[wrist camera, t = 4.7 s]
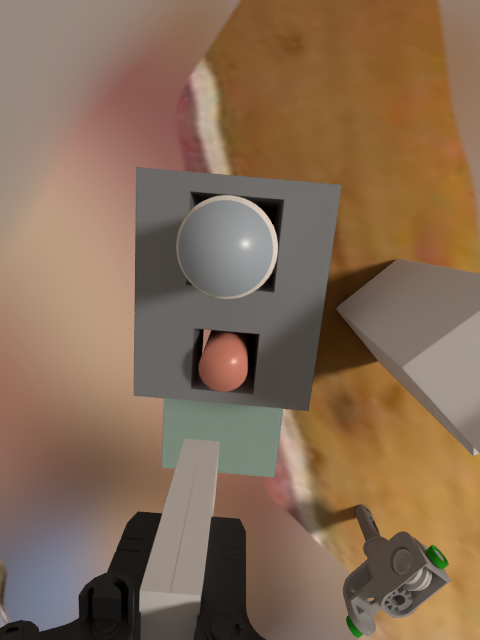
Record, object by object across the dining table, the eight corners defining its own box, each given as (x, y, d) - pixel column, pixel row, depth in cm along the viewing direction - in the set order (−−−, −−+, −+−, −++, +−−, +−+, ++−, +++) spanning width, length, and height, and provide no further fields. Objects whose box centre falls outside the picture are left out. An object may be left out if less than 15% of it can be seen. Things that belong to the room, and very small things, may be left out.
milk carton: (334, 307, 33) (441, 403, 15) (397, 257, 32) (601, 293, 13) (378, 361, 34) (529, 512, 16) (441, 315, 33) (683, 421, 15)
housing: (156, 363, 35) (133, 395, 28) (161, 181, 31) (136, 167, 24) (296, 376, 35) (308, 411, 28) (320, 195, 31) (341, 184, 24)
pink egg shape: (208, 355, 34) (197, 389, 26) (210, 318, 33) (199, 343, 25) (246, 358, 34) (245, 393, 26) (249, 322, 33) (249, 348, 25)
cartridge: (207, 266, 32) (170, 298, 17) (211, 209, 31) (173, 188, 16) (261, 270, 32) (273, 307, 17) (267, 214, 31) (285, 197, 16)
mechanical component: (320, 532, 39) (343, 631, 30) (385, 471, 37) (433, 556, 28) (339, 546, 40) (369, 648, 30) (405, 487, 38) (459, 575, 28)
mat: (162, 464, 38) (161, 467, 37) (165, 387, 36) (164, 389, 35) (274, 474, 38) (274, 477, 37) (283, 398, 35) (284, 400, 35)
